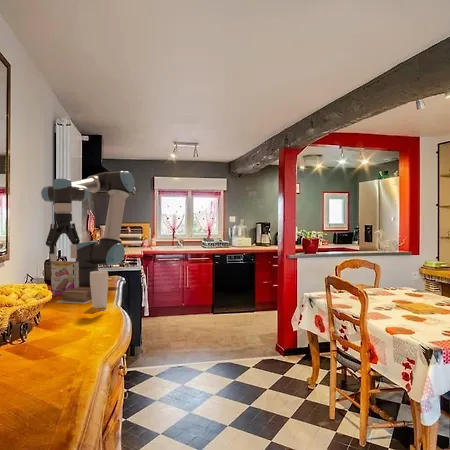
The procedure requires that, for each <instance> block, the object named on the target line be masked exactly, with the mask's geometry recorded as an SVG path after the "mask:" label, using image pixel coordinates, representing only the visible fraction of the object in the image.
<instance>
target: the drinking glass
mask: <svg viewBox="0 0 450 450" xmlns="http://www.w3.org/2000/svg"><path fill="white" fill-rule="evenodd" d="M89 288H91V297H92V301H91V305H92V306H91V307H92V309H93V308H94V309H101V310H99V312H104V311H107V309H108V307H107V306H108V293H109V292H108V291H109V272H108V270H99V271H93V272H90V285H89ZM102 308H103V309H102Z"/></svg>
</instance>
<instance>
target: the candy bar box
mask: <svg viewBox="0 0 450 450" xmlns="http://www.w3.org/2000/svg"><path fill="white" fill-rule="evenodd" d="M77 287H80V286H79V262H78V261H76V260H75V261H74V260H73V261H69V260H67V261H66V260H65V261H64V260H63V261H61V260H60V261H59V260H57V261H50V288H51V289H50V291H51V292H52V293H53V295H52V296H62V292H63V291H66V290H70V289H73V288H77ZM51 292H50V293H51Z"/></svg>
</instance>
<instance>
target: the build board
mask: <svg viewBox="0 0 450 450" xmlns="http://www.w3.org/2000/svg"><path fill="white" fill-rule="evenodd" d="M90 302H91V303H92V299H90V300H88V301H85V302H74V301H63V299H60V300H58V301H56V303H66V304H67V303H68V304H81V305H82V304H88V303H90Z"/></svg>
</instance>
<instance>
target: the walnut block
mask: <svg viewBox="0 0 450 450" xmlns="http://www.w3.org/2000/svg"><path fill="white" fill-rule="evenodd" d="M61 296H62V300H63V301H74V302H85V301H88V300H90V299H92V297H91V288H90V287H81V286H79V287H77V288H73V289H70V290H66V291H63V292H62V295H61Z"/></svg>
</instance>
